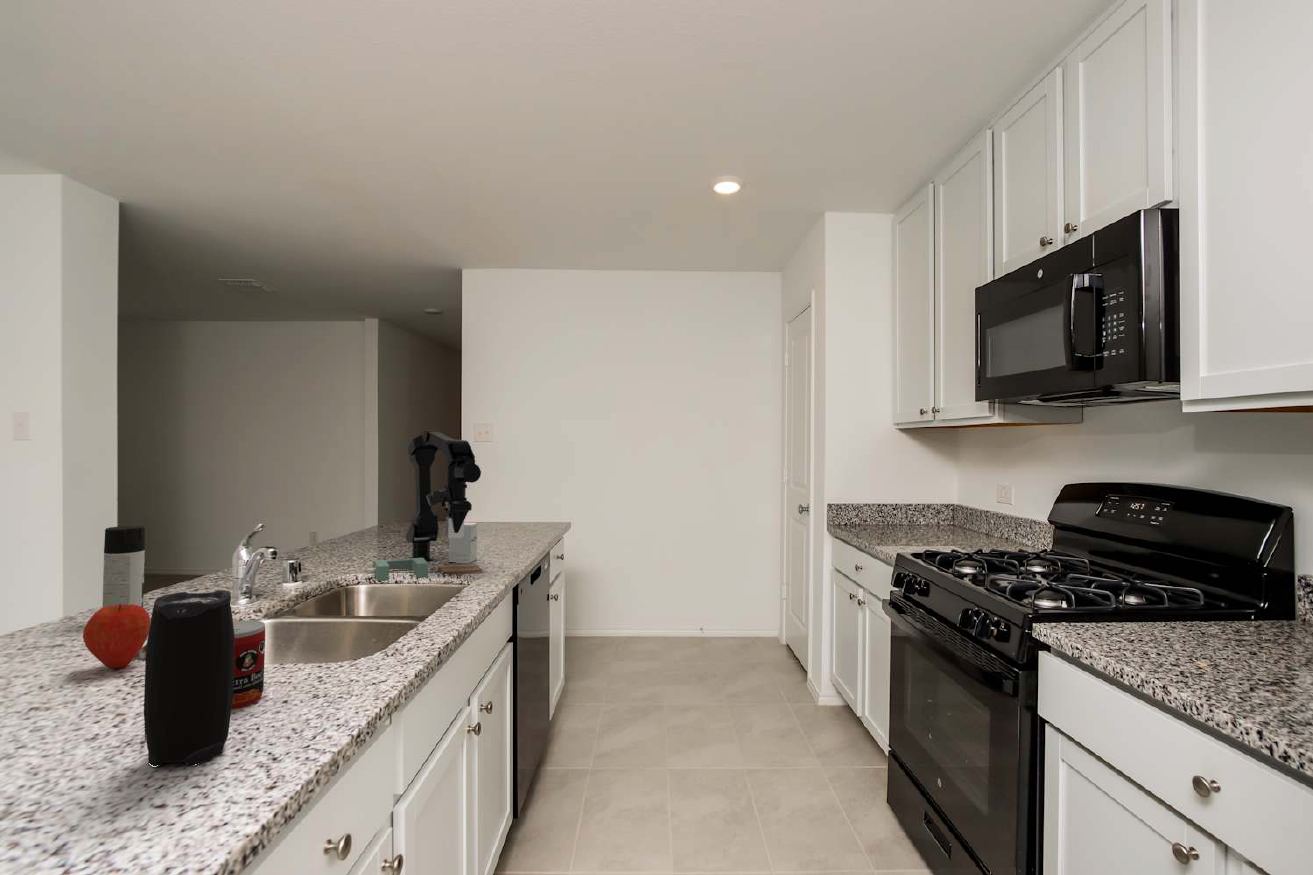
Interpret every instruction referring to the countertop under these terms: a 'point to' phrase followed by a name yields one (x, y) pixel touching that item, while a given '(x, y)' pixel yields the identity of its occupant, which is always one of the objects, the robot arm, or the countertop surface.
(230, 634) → the portable speaker
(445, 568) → the copper plate
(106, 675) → the countertop surface
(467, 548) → the supplement box
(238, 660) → the canned food
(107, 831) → the countertop surface
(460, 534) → the steel block
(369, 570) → the vise
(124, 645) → the apple
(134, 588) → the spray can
